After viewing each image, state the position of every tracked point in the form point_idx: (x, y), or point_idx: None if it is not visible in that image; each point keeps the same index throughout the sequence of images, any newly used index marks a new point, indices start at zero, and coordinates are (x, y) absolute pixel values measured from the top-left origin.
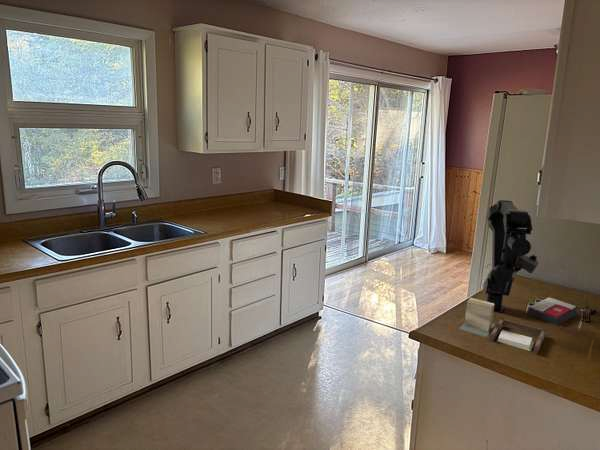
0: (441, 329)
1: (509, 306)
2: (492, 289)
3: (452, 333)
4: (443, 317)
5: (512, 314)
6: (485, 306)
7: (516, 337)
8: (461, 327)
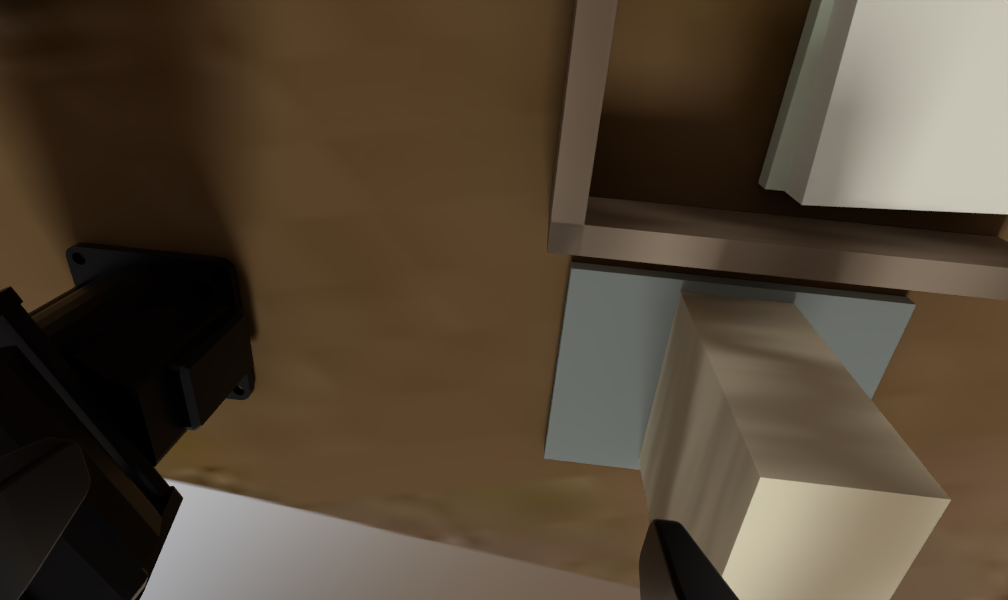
0: None
1: (10, 199)
2: (145, 509)
3: None
4: (627, 577)
5: (179, 149)
6: (912, 553)
7: (969, 26)
8: None
